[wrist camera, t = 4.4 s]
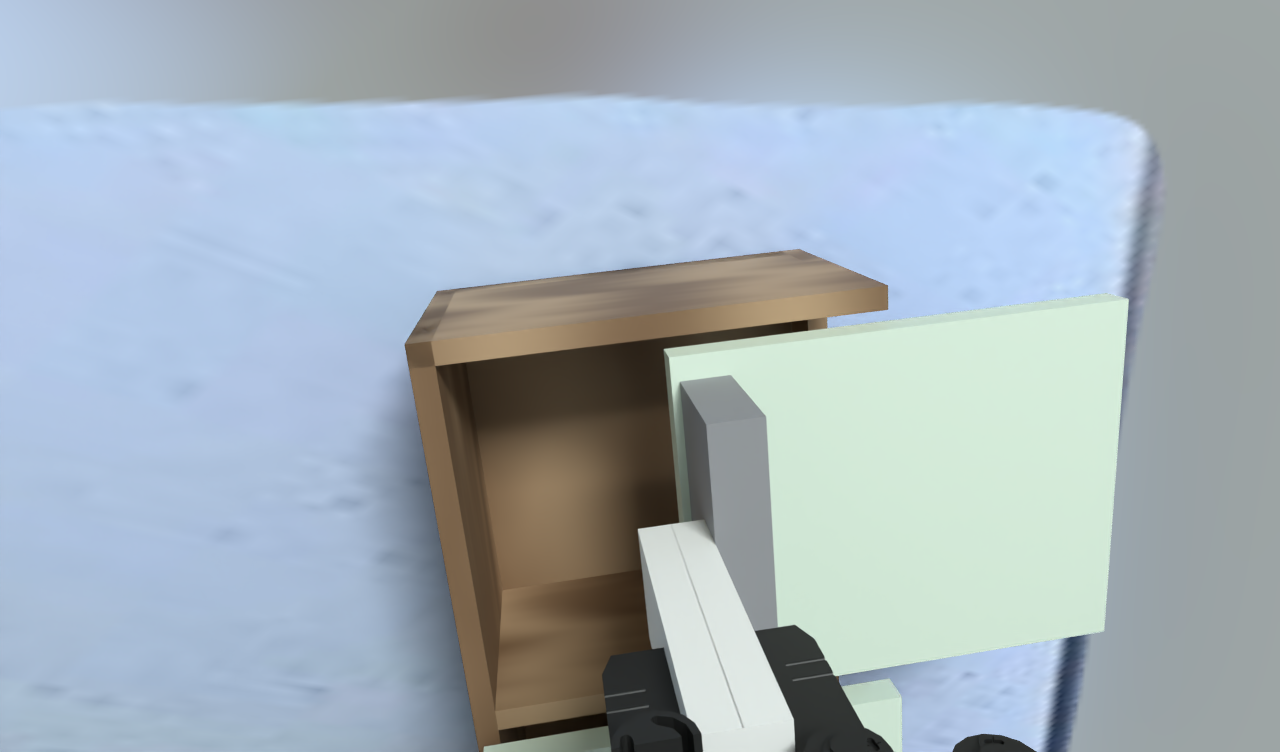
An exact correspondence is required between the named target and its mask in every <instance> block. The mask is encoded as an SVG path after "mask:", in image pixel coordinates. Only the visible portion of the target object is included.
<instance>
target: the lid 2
mask: <svg viewBox="0 0 1280 752" xmlns="http://www.w3.org/2000/svg"><path fill="white" fill-rule="evenodd" d="M842 689H843V690H844V692H845V694H846V696H847V698H848V699H849V701H850V703H851V705H852V707H853V708H854V710H855V712H856V714H857V715H858V717H859V719H860V721H861V723H862V724H863V726H864V728H867V729H869V730H871V731H873V732H874V733H876V734H878V735H880V736H882V738H883V739H884V740H885V741H886V742H887V743H888V744H889V745H890V746H891V748H892V749H893V751H894V752H902V697H901V695H900V694H899V692H898V691H897V689H896V688H895V686H894V685H893V683H892V682H891V680H890V679H883V680H877V681H871V682H866V683H860V684H854V685H848V686H842ZM484 752H611V744H610V736H609V728H608V726H604V727H598V728H592V729H586V730H580V731H574V732H568V733H562V734H557V735H551V736H545V737H539V738H533V739H527V740H521V741H515V742H509V743H503V744H497V745H491V746H485V747H484Z"/></svg>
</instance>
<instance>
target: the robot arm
mask: <svg viewBox="0 0 1280 752" xmlns="http://www.w3.org/2000/svg"><path fill="white" fill-rule="evenodd" d="M638 537H639V546H640V556H641V565H642V574H643V583H644V593H645V602H646V611H647V620H648V630H649V638H650V642H651V647H652V649H650V650H644V651H638V652H631V653H625V654H619V655H612V656H610V658H609V661H608V663H607V665H606V667H605V669H604V671H603V673H602V680H603V688H604V696H605V704H606V712H607V720H608V728H609V736H610V744H611V752H894V751H893V749H892V748H891V746H890V745H889V744H888V743H887V742H886V741H885V740H884V739H883V738H882V736H880V735H878V734H876V733H874V732H873V731H871V730H869V729H867V728H864V726H863V724H862V723H861V721H860V719H859V717H858V715H857V714H856V712H855V710H854V708H853V707H852V705H851V703H850V701H849V699H848V698H847V696H846V694H845V692H844V690H843V689H842V687H841V685H840V683H839V682H838V680H837V678H836V676H835V675H833V671H832V669H831V667H830V665H829V664H828V662H827V660H826V661H825V657H824V655H823V653H822V651H821V649H820V648H819V646H818V644H817V642H816V640H815V639H814V638H813V637H811V636H810V635H809V634H807V633H806V632H804V631H803V630H802V629H800V628H799V627H798V626H796V625H790V626H783V627H777V628H771V629H764V630H758V631H754V629H753V627H752V625H751V622H750V620H749V618H748V616H747V614H746V611H745V609H744V607H743V605H742V602H741V600H740V598H739V596H738V593H737V591H736V589H735V587H734V584H733V582H732V580H731V578H730V575H729V573H728V571H727V569H726V567H725V564H724V562H723V560H722V558H721V555H720V553H719V551H718V549H717V546H716V545H715V542H714V540H713V538H712V536H711V534H710V531H709V529H708V527H707V525H706V523H705V520H704V519H703V520H696V521H690V522H683V523H676V524H669V525H662V526H655V527H648V528H641V529H638ZM953 752H1036V751H1034V750H1033V749H1031V748H1030V747H1028V746H1026V745H1025V744H1023V743H1022V742H1020V741H1017V740H1014V739H1011V738H1008V737H1005V736H1002V735H990V734H980V735H975V736H970V737H967V738H965V739H964V740H962V741H961V742H959V743H958V744H956V745H955V747H954V749H953Z"/></svg>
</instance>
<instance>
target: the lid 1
mask: <svg viewBox="0 0 1280 752" xmlns="http://www.w3.org/2000/svg"><path fill="white" fill-rule="evenodd" d="M1128 301H1129V299H1126V298H1122V297H1119V296H1115V295H1111V294H1107V293H1105V294H1097V295H1089V296H1081V297H1073V298H1065V299H1057V300H1049V301H1041V302H1033V303H1025V304H1017V305H1009V306H1001V307H993V308H986V309H978V310H970V311H962V312H954V313H946V314H938V315H930V316H922V317H914V318H906V319H898V320H890V321H882V322H874V323H866V324H858V325H851V326H843V327H835V328H827V329H819V330H811V331H803V332H795V333H787V334H779V335H771V336H763V337H755V338H747V339H739V340H731V341H723V342H715V343H708V344H700V345H692V346H684V347H676V348H668V349H664V359H665V370H666V381H667V392H668V403H669V414H670V425H671V436H672V447H673V458H674V469H675V480H676V491H677V502H678V513H679V523H683V522H690V521H696V520H703V519H704V520H705V523H706V525H707V527H708V529H709V531H710V534H711V536H712V538H713V540H714V542H715V545H716V546H717V549H718V551H719V553H720V555H721V558H722V560H723V562H724V564H725V567H726V569H727V571H728V573H729V575H730V578H731V580H732V582H733V584H734V587H735V589H736V591H737V593H738V596H739V598H740V600H741V602H742V605H743V607H744V609H745V611H746V614H747V616H748V618H749V620H750V622H751V625H752V627H753V629H754V631H758V630H764V629H771V628H777V627H783V626H790V625H796V626H798V627H799V628H800V629H802V630H803V631H804V632H806V633H807V634H809V635H810V636H811V637H813V638H814V639H815V640H816V642H817V644H818V646H819V648H820V649H821V651H822V653H823V655H824V657H825V661H826V660H827V662H828V664H829V665H830V667H831V669H832V671H833V675H835V676H840V675H846V674H852V673H858V672H864V671H870V670H876V669H881V668H887V667H893V666H899V665H905V664H911V663H917V662H923V661H929V660H935V659H941V658H947V657H953V656H959V655H965V654H971V653H977V652H983V651H989V650H995V649H1001V648H1007V647H1013V646H1019V645H1025V644H1031V643H1037V642H1043V641H1049V640H1055V639H1061V638H1067V637H1073V636H1079V635H1085V634H1091V633H1096V632H1103V631H1104V624H1105V611H1106V598H1107V584H1108V571H1109V570H1108V569H1109V557H1110V542H1111V530H1112V515H1113V503H1114V490H1115V476H1116V463H1117V449H1118V436H1119V422H1120V409H1121V396H1122V382H1123V369H1124V355H1125V342H1126V328H1127V315H1128Z"/></svg>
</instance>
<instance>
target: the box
mask: <svg viewBox="0 0 1280 752" xmlns="http://www.w3.org/2000/svg"><path fill="white" fill-rule="evenodd" d="M881 310H888V285H885V284H883V283H880V282H878V281H876V280H873V279H871V278H868V277H866V276H863V275H861V274H858V273H856V272H854V271H851V270H849V269H846V268H844V267H841V266H839V265H836V264H834V263H832V262H829V261H827V260H824V259H822V258H819V257H817V256H815V255H812V254H810V253H807V252H805V251H802V250H800V249H796V250H787V251H779V252H770V253H761V254H753V255H744V256H736V257H727V258H718V259H710V260H701V261H692V262H684V263H675V264H667V265H658V266H649V267H641V268H632V269H624V270H615V271H606V272H598V273H589V274H581V275H572V276H563V277H555V278H546V279H538V280H529V281H520V282H512V283H503V284H495V285H486V286H477V287H469V288H460V289H451V290H443V291H437V292H436V294H435V296H434V297H433V299H432V300H431V302H430V304H429V305H428V307H427V309H426V310H425V312H424V313H423V315H422V317H421V318H420V320H419V322H418V323H417V325H416V327H415V328H414V330H413V331H412V333H411V335H410V336H409V338H408V340H407V341H406V343H405V350H406V355H407V361H408V366H409V371H410V377H411V382H412V388H413V393H414V399H415V404H416V410H417V415H418V421H419V426H420V432H421V437H422V443H423V448H424V453H425V459H426V464H427V470H428V475H429V481H430V486H431V492H432V497H433V503H434V508H435V514H436V519H437V524H438V530H439V535H440V541H441V546H442V552H443V557H444V563H445V568H446V574H447V579H448V585H449V590H450V595H451V601H452V606H453V612H454V617H455V623H456V628H457V634H458V639H459V645H460V650H461V656H462V661H463V667H464V672H465V677H466V683H467V688H468V694H469V699H470V705H471V710H472V716H473V721H474V727H475V732H476V738H477V743H478V748H479V752H484V747H485V746H491V745H497V744H503V743H509V742H515V741H521V740H527V739H533V738H539V737H545V736H551V735H557V734H562V733H568V732H574V731H580V730H586V729H592V728H598V727H604V726H608V720H607V712H606V704H605V696H604V688H603V680H602V673H603V671H604V669H605V667H606V665H607V663H608V661H609V658H610V656H612V655H619V654H625V653H631V652H638V651H644V650H650V649H652V647H651V642H650V638H649V630H648V620H647V611H646V602H645V593H644V583H643V574H642V565H641V556H640V546H639V537H638V529H641V528H648V527H655V526H662V525H669V524H676V523H679V513H678V502H677V491H676V480H675V469H674V458H673V447H672V436H671V425H670V414H669V403H668V392H667V381H666V370H665V359H664V349H668V348H676V347H684V346H692V345H700V344H708V343H715V342H723V341H731V340H739V339H747V338H755V337H763V336H771V335H779V334H787V333H795V332H803V331H811V330H819V329H827V317H833V316H841V315H849V314H857V313H865V312H873V311H881ZM836 678H837V680H838V682H839V677H838V676H836Z"/></svg>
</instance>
